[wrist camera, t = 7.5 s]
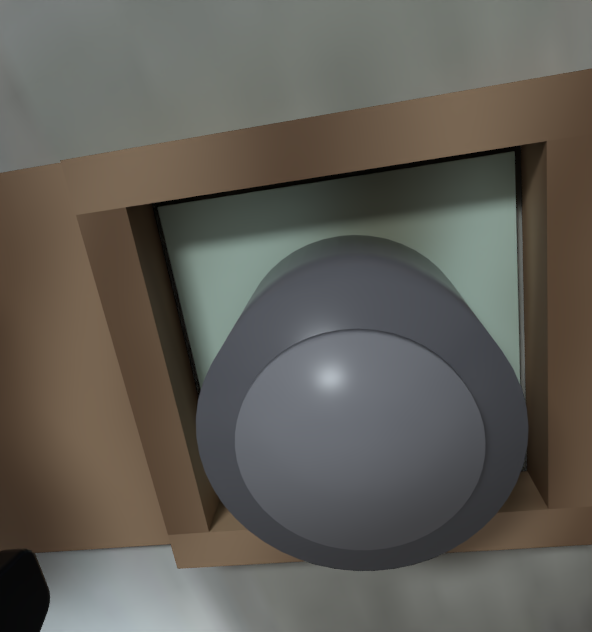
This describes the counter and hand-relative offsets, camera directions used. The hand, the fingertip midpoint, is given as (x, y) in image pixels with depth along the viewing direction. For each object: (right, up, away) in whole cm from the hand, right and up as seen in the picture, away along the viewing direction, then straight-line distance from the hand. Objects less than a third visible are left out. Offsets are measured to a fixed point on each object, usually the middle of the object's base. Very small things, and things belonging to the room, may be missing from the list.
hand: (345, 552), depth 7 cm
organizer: (-3, +2, +7) cm, 8 cm away
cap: (+1, +2, +7) cm, 7 cm away
